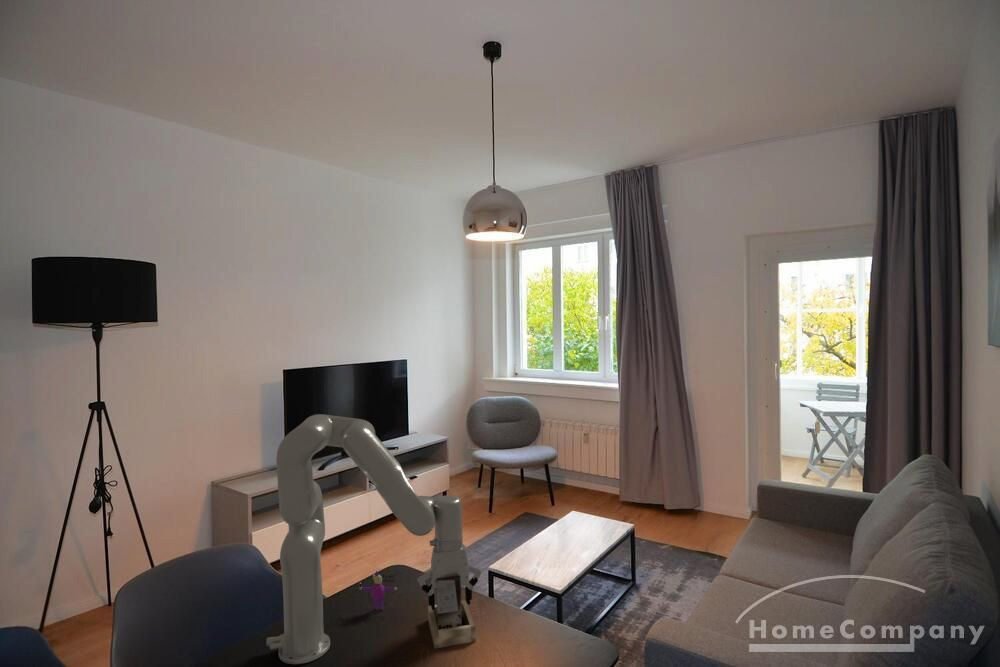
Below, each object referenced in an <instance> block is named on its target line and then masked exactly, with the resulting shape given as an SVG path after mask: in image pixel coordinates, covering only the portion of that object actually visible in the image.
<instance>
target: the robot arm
mask: <svg viewBox="0 0 1000 667" xmlns="http://www.w3.org/2000/svg"><path fill="white" fill-rule="evenodd" d="M327 446H328V447H334V448H335V447H336V448H337V447H338V448H343V450H344V452H345V453H346V455H348V456H349V458H350V459H351V460H352V461H353V463H355V465H356V466H357V467H358V469H360V470H361V472H362V473H363V474H364V476H366V478H367V479H368V480H369V481H370V482H371V484H372V485H373V486H374V487H375V489H376V491H377V492H378V495H380V497H381V499H382V500H384V502H385V504H386V506H388V508H389V510H390V511H391V512H392V514H393V515H394V516H395V517H396V519H397V520H398V521H399V522H400V523H401V524H402V525H403V527H404V528H405V529H406V530H407V531H408V532H409V533H410V534H412V535H414V536H416V537H417V536H418V537H423V536H426V535H428V534H430V533H431V532H432V530H433V529H434V538H433V539H432V540H429V546H430V547H431V546H432V547H433V548H432V550H431V551H432V552H431V558H430V559H431V562H430V569H429V570H428V571H426V572H425V573H423V574H422V575H421V576H419V577H417V582H418V584H419V586H420V588H421V589H422V590H423V592H425V593H426V594H427V595H428V598H427V600H428V606H431V607H432V610H434V609H435V605H436V602H435V601H436V599H435V597H436V596H435V592H436V591H437V579H441V578H447V577H451V576H460V583H461V587H464V589H465V594H464V596H465V600H466V602H467V605H468V606H469V605H471V600H473V589H474V586H476V585H477V583H478V581H479V579H480V577H481V574H482V571H481V569H479V568H477V567H474V566H473V565H469V558H468V557H469V556H468V551H467V547H466V545H465V544H463V542H464V541H463V539H464V538H463V503H462V500H461V498H460V497H458V496H456V495H452V494H449V495H448V494H446V495H440V496H429V495H418V494H417V493H416V492H415V490H414V489H413V487H412V485H411V484H410V482H409V480H408V478H407V475H406V474H405V471H404V469H403V467H402V465H401V464H400V462H399V461H398V460H397V459H396V457H395V456H394V455H393V454H392V453H391V452H390V450H389V449H388V448H387V447H386V446H385V444H384V443H383V442H382V441H381V439H379V437H378V436H377V435H376V430H375V427H374V426H373V424H372V423H371V422H369V421H368V420H366V419H362V418H356V417H355V418H354V417H353V418H352V417H348V416H347V417H345V416H339V415H338V416H337V415H330V414H320V413H317V414H313V415H310V416H308V417H307V418H305V420H304V421H303V422H301V423H300V424H299V425H298V426H296V427H295V428H294V429H292V430H291V431H290V432H288V433H287V435H285V437H283V439H282V440H281V442H280V443H279V445H278V448H277V450H276V460H275V461H276V475H277V476H276V477H277V490H278V504H279V505H278V508H279V514H280V517H281V519H282V520H283V521H284V522H285V523H286V524H288V532H287V534H286V535H285V537H284V539H283V541H282V544H281V547H280V552H279V561H280V562H279V563H280V568H281V576H282V580H281V581H282V595H283V596H282V597H283V628H284V629H283V630H284V632H283V633H281V634H280V635H278V636H270V637H266V643H265V644H266V647H269V650H270V651H272V650H276V649H278V658H279V659H280V661H282V663H285V664H289V665H301V664H302V665H303V664H306V663H310V662H313V661H315V660H317V659H319V658H321V657H322V656H323V655H325V654H326V653H327V652H328V650H329V649H330V646H331V638H330V636H329V635H328V634H326V633H325V630H324V606H323V605H324V604H323V603H324V600H323V578H322V577H323V576H322V575H323V574H322V573H323V572H322V565H321V563H322V562H321V552H322V547H323V543H324V540H325V536H326V524H325V512H324V502H323V493H322V490H321V486H320V485H319V484H318V483H317V482H316V481H315V480H314V476H313V474H314V473H313V465H312V458H313V457H314V456H315V454H317V453H318V452H320V451H322V450H323V449H324V448H326V447H327ZM470 573H471V574H473V576H472V577H471V578H470ZM428 579H430V580H431V581H430V584H429V585H428V584H427V583H426V581H427V580H428Z"/></svg>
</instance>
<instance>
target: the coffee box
mask: <svg viewBox="0 0 1000 667" xmlns="http://www.w3.org/2000/svg"><path fill="white" fill-rule="evenodd" d="M461 601H462V586H461V583H460V576H451V577H447V578H441V579H437V589H436V605H437V621H436V623H437V628H438V630H441V629H447V628H453V627H459V626H463V624H462V623H463V619H462V618H463V617H462V603H461Z"/></svg>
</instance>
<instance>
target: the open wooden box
mask: <svg viewBox="0 0 1000 667" xmlns="http://www.w3.org/2000/svg"><path fill="white" fill-rule="evenodd" d="M461 603H462V618H463V619H462V620H463V623H464V624H465V625H462V626H459V627H453V628H447V629H441V630H438V623H437V604H435V609H434V610H432V607H431V606H429V605H427V621H428V624H429V630H430V634H431V640H432V644H433V648H434V649H439V648H440V649H441V648H446V647H451V646H457V645H463V644H464V645H465V644H469V643H475V642H477V639H476V637H477V635H476V632H477V631H476V625H475V621H474V619H473V616H472V613H471V610H470V608H469V605H468V604H467V602H466V599H465V600H461Z"/></svg>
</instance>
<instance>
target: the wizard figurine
mask: <svg viewBox="0 0 1000 667" xmlns="http://www.w3.org/2000/svg"><path fill="white" fill-rule="evenodd" d="M385 578H386V579H385ZM387 578H388V579H387ZM394 578H395V575H388V576H387V574H386V575H382V576H381V575H380V574H379V573H378V571H377V570H376V571H375V573H374V574H372V579H373V582H374V584H373V585H372V587H369V586H367V587H363V586H362V582H359V590H360V591H361V590H370V594H371V597H372V598H373V599H374V610H376V611H377V610H378V609H379V607H378V600H380V610H381V611H384V609H385V608H384V602H383V600H384V599H383V598H384V597H385V593H386V590H388V591H390V590H393V591H397V590H398V588H397V587H396V586H395V587H385V586H384V585H383V584H382V583H386V582H388V583H394V582H395V579H394Z"/></svg>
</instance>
